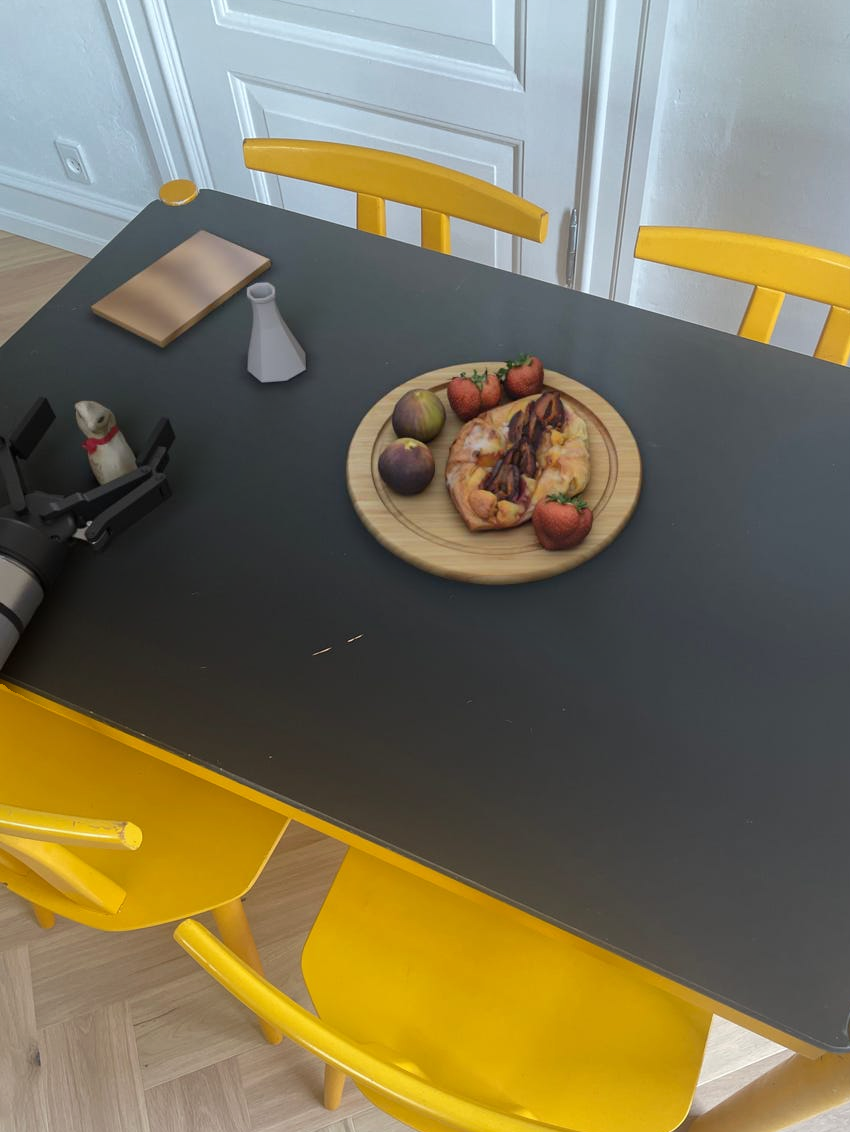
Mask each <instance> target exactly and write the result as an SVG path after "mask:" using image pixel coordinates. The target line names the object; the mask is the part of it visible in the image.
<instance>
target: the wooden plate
mask: <svg viewBox="0 0 850 1132" xmlns="http://www.w3.org/2000/svg"><path fill="white" fill-rule="evenodd" d="M518 357H520V358H519V359H515V360H513V361H512V360H511V359H510V360H503V361H482V362H471V363H470V362H469V363H462V364H457V365H451V366H448V367H447V366H445V367H443V368H438V369H435V370H432V371H429V372H426V373H424V374H421V375H418V376H416V377H414V378H411V379H410V380H408V381H406V382H404V383H402V384H400V385H399V386H397V387H395V388H393V389H392V390H391V391H389V393H387V394H386V395H384V396H383V397H382V398H380V400H378V401H377V402H376V403H375V404H374V405H373V406H372V407H371V408H370V409H369V411H367V413H365V415H364V416H363V417H362V419H361V421H360V422H359V424H358V426H357V428H356V429H355V431H354V433H353V435H352V438H351V441H350V443H349V447H348V451H347V455H346V459H345V460H346V461H345V479H346V480H345V482H346V489H347V492H348V496H349V499H350V502H351V504H352V506H353V509H354V511H355V513H356V515H357V517H358V518H359V520H360V522H361V523H362V525H363V526H364V528H365V529H366V530H367V532H368V533H369V534H370V535H371V537H372V538H373V539H374V540H375V541H376V542H377V543H378V544H379V545H380V546H381V547H383V548H384V549H386V551H388V552H389V553H391V554H393V555H394V556H395V557H397V558H399V559H401V560H402V561H404V562H405V563H406V564H408V565H411V566H413V567H414V568H416V569H418V570H421V571H423V572H425V573H428V574H431V575H433V576H436V577H440V578H443V579H447V580H450V581H455V582H460V583H466V584H475V585H481V586H482V585H487V586H499V585H500V586H504V585H518V584H525V583H532V582H536V581H541V580H545V579H550V578H553V577H555V576H557V575H561V574H564V573H567V572H568V571H571V570H573V569H575V568H578V567H579V566H581V565H583V564H585V563H586V562H588V561H591V560H592V559H593V558H594V557H596V556H597V555H599V554H600V553H602V551H605V550H606V549H607V548H608V547H609V546H610V545H611V544H612V543H613V542H614V541H615V540H616V539H617V538H618V537H619V536H620V535H621V533H622V532H623V531H624V529H625V528H626V526H627V525H628V523H629V522H630V521H631V519H632V517H633V515H634V513H635V511H636V508H637V507H638V503H639V501H640V496H641V491H642V486H643V473H644V472H643V471H644V470H643V461H642V456H641V452H640V449H639V446H638V443H637V440H636V438H635V436H634V434H633V432H632V431H631V428H630V427H629V425H628V424H627V423H626V421H625V420H624V419H623V417H622V416H621V415H620V413H619V412H618V411H617V410H616V409H615V408H614V406H612V405H611V404H610V403H609V402H608V401H607V400H606V399H605V398H603V397H602V396H601V395H599V394H598V393H597V392H595V391H594V390H592V389H591V388H589V387H588V386H586V385H584V384H582V383H581V382H578V381H577V380H574V379H572V378H570V377H568V376H566V375H563V374H561V373H559V372H557V371H553V370H550V369H546V368H544V366H543V363H542V361H541V360H540V359H538V358H537V357H535V356H531V353H529V354H527V353H526V354H524V351H523V352H522V351H520V353H519V355H518Z"/></svg>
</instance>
